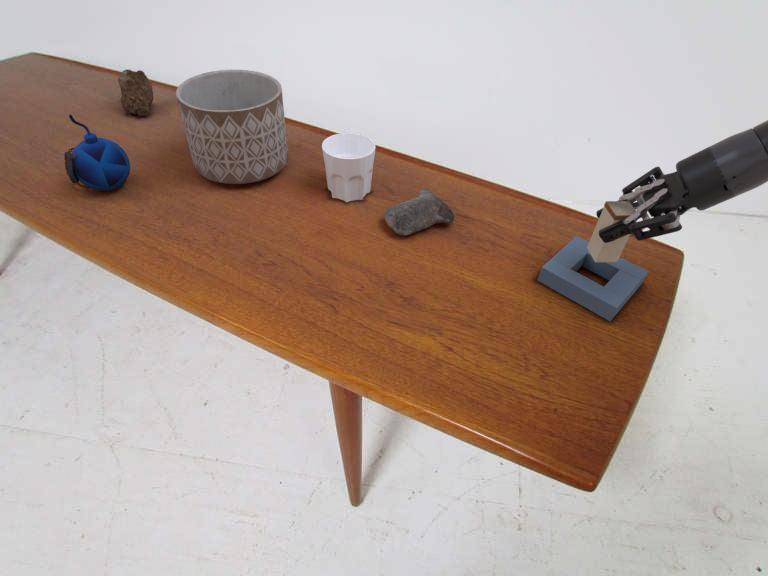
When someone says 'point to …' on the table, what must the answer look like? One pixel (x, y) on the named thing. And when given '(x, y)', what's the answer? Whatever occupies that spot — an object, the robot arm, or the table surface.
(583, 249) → the blue square frame
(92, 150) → the bomb
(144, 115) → the rock
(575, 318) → the table surface
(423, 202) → the stone
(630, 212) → the brown square block
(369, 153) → the cup
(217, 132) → the planter
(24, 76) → the table surface
